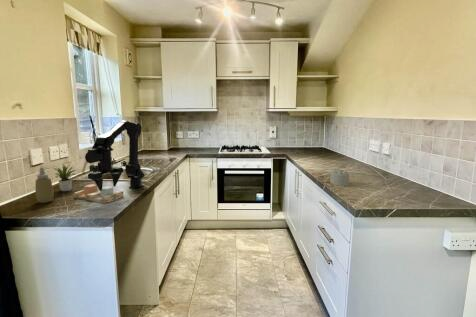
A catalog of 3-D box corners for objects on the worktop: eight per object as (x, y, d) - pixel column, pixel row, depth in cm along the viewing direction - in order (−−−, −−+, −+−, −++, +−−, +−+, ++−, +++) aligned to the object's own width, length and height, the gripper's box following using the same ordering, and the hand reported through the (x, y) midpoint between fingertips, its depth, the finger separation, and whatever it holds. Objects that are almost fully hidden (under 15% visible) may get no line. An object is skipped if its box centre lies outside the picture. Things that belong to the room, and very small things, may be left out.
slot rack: (93, 192, 162) (93, 187, 161) (123, 196, 153) (123, 191, 152) (74, 197, 151) (74, 192, 150) (105, 203, 142) (105, 197, 141)
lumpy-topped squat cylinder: (344, 181, 187) (345, 168, 186) (351, 186, 174) (352, 172, 173) (328, 181, 187) (329, 168, 186) (334, 186, 174) (335, 172, 173)
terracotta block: (97, 193, 155) (97, 185, 154) (90, 195, 151) (89, 187, 150) (92, 192, 157) (91, 184, 156) (84, 194, 153) (84, 186, 152)
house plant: (65, 194, 157) (62, 166, 154) (45, 193, 160) (42, 165, 157) (84, 188, 171) (81, 162, 168) (65, 186, 173) (62, 161, 171)
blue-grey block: (113, 196, 151) (113, 187, 150) (106, 198, 147) (106, 189, 146) (107, 195, 152) (106, 186, 152) (100, 197, 148) (99, 188, 147)
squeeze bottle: (39, 200, 147) (34, 166, 144) (56, 198, 150) (53, 165, 147) (34, 204, 140) (29, 169, 137) (52, 202, 143) (48, 168, 140)
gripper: (108, 156, 158) (110, 183, 161) (78, 161, 141) (81, 191, 144) (123, 157, 154) (125, 184, 157) (94, 163, 137) (97, 193, 140)
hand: (107, 188), depth 149 cm, fingers open, 9 cm apart
